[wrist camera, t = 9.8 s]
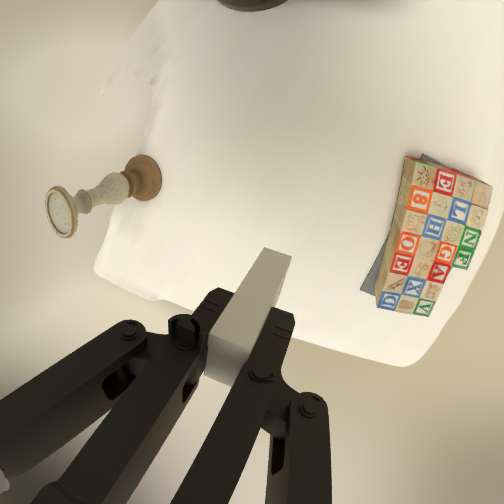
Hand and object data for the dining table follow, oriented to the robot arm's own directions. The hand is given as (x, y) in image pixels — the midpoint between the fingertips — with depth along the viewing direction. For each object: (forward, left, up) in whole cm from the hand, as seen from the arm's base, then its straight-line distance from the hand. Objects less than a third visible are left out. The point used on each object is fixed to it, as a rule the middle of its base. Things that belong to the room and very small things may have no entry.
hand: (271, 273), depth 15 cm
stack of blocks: (+2, +12, -24) cm, 27 cm away
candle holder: (+10, -30, -28) cm, 42 cm away
